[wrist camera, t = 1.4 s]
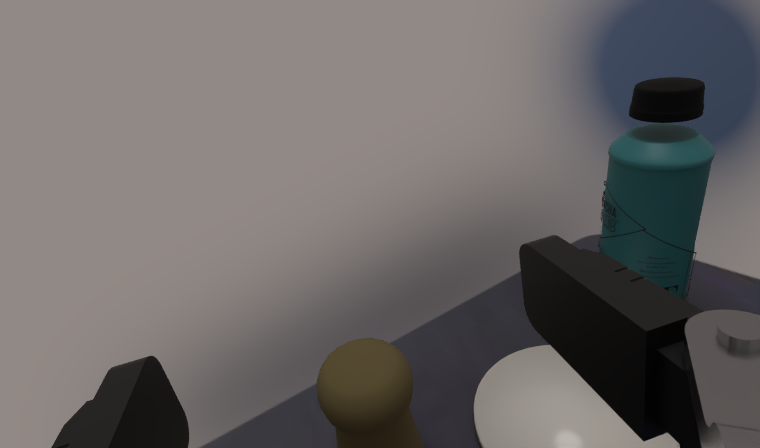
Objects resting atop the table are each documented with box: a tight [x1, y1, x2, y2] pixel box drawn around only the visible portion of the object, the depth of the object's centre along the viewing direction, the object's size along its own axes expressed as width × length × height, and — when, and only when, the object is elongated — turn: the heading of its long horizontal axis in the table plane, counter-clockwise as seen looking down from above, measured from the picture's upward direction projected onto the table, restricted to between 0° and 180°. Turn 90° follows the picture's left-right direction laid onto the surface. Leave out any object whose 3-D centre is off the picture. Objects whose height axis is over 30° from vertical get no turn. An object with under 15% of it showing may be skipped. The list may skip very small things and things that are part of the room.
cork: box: [317, 338, 424, 448], centre depth 26 cm, size 6×6×11 cm
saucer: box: [474, 345, 677, 448], centre depth 30 cm, size 13×13×1 cm
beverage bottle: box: [598, 77, 715, 301], centre depth 33 cm, size 6×7×20 cm
